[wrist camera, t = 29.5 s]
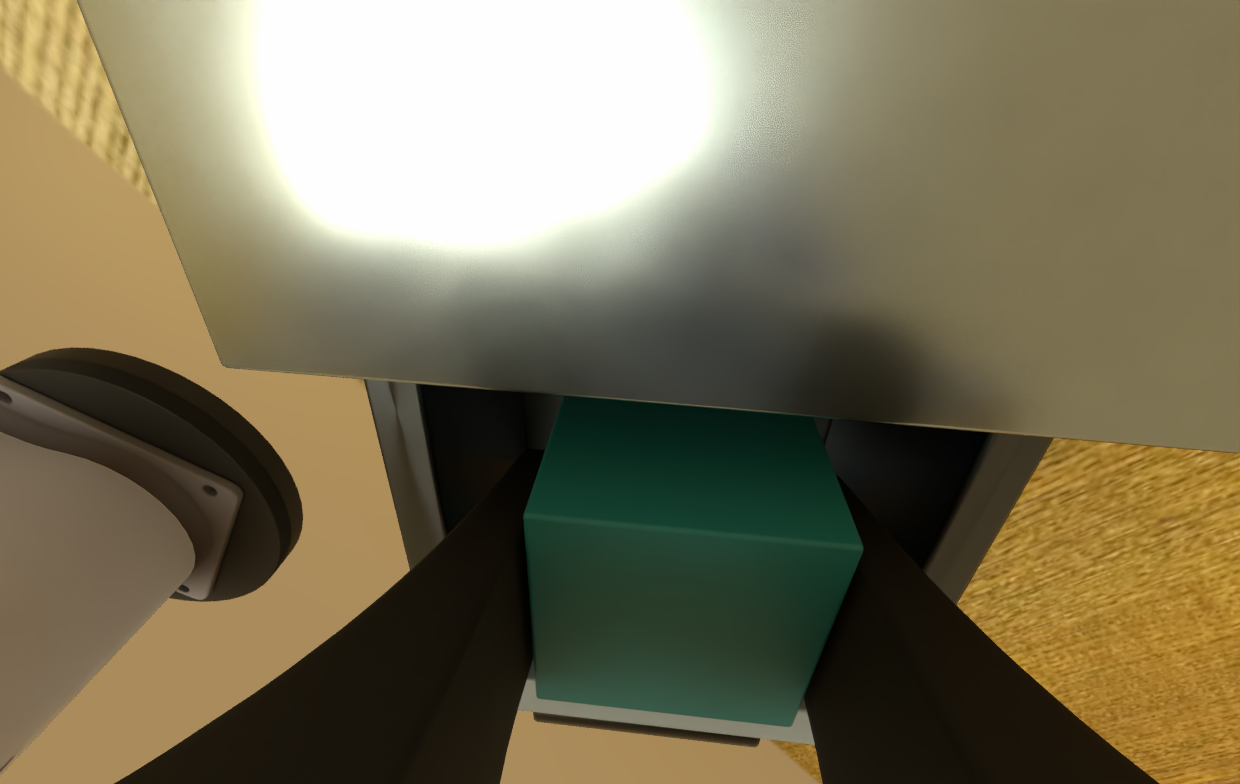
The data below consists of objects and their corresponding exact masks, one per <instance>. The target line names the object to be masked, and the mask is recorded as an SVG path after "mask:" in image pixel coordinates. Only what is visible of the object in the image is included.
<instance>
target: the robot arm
mask: <svg viewBox="0 0 1240 784" xmlns="http://www.w3.org/2000/svg"><path fill="white" fill-rule="evenodd" d="M544 452H545V450H543V449H531V448H527V449H526V450H525V451H523V452H522V453H521V454H520V455H519V457H518V458H517V459H516V460H515V461H514V463H513V464H512V465H511V466H510V467H509V469H508V470H507V471H506V472H505V473H504V474H503V476H502V477H501V478H500V479H499V480H498V481H497V483H496V484H495V485H494V486H493V487H492V488H491V489H490V490H489V492H488V493H487V494H486V495H485V496H484V497H483V498H482V499H481V500H480V502H479V503H478V504H477V505H476V506H475V507H474V508H473V509H472V510H471V511H470V512H469V513H468V514H467V515H466V516H465V517H464V518H463V519H462V520H461V521H460V523H459V524H458V525H457V526H456V527H455V528H454V529H453V530H452V531H451V532H450V533H449V534H448V535H447V536H446V537H445V538H444V539H443V540H442V541H441V542H440V543H439V544H438V545H437V546H436V547H435V548H433V549H432V550H431V551H430V552H429V553H428V554H427V555H426V556H425V557H424V558H423V559H422V560H421V561H420V562H419V563H418V564H417V565H416V566H414V567H413V568H412V569H411V570H410V571H409V572H408V573H407V574H406V575H405V576H404V577H403V578H402V579H400V581H398V582H397V583H396V584H395V585H394V586H393V587H391V588H390V589H389V590H388V591H387V592H386V593H385V594H383V595H382V596H381V597H380V598H379V599H377V600H376V601H375V602H374V603H373V604H372V605H370V606H369V607H368V608H367V609H365V610H364V611H363V612H362V613H361V614H359V615H358V616H357V617H356V618H355V619H353V620H352V621H351V622H350V623H348V624H347V625H346V626H345V627H343V628H342V629H341V630H340V631H338V632H337V633H336V634H334V635H333V636H332V637H330V638H329V639H328V640H326V641H325V642H324V643H323V644H321V645H320V646H318V647H317V648H316V649H314V650H313V651H312V652H311V653H309V654H308V655H307V656H305V657H304V658H303V659H301V660H300V661H299V662H297V663H296V664H295V665H293V666H292V667H291V668H289V669H288V670H287V671H285V672H284V673H282V674H281V675H280V676H278V677H277V678H276V679H274V680H273V681H271V682H270V683H269V684H267V685H266V686H264V687H263V688H261V689H260V690H258V691H257V692H256V693H254V694H253V695H251V696H250V697H248V698H247V699H245V700H244V701H242V702H241V703H239V704H238V705H236V706H234V707H233V708H232V709H230V710H228V711H227V712H225V713H224V714H223V715H221V716H220V717H218V718H216V719H215V720H213V721H212V722H210V723H209V724H207V725H206V726H204V727H203V728H201V729H200V730H198V731H197V732H195V733H194V734H192V735H191V736H189V737H188V738H186V739H185V740H183V741H182V742H180V743H179V744H177V745H176V746H174V747H172V748H171V749H169V750H168V751H167V752H165V753H163V754H162V755H160V756H158V757H157V758H155V759H154V760H152V761H151V762H149V763H147V764H146V765H144V766H143V767H141V768H139V769H138V770H136V771H135V772H133V773H131V774H130V775H128V776H126V777H125V778H123V779H121V780H120V781H118V782H116V783H115V784H500V780H501V775H502V771H503V766H504V761H505V756H506V752H507V747H508V744H509V740H510V736H511V732H512V728H513V724H514V720H515V717H516V713H517V710H518V707H519V704H520V700H521V697H522V694H523V690H524V687H525V684H526V680H527V677H528V674H529V670H530V667H531V664H532V661H533V644H532V630H531V616H530V602H529V589H528V575H527V561H526V547H525V533H524V519H523V515H524V512H525V509H526V506H527V503H528V500H529V497H530V494H531V491H532V488H533V485H534V482H535V479H536V476H537V473H538V470H539V467H540V464H541V461H542V458H543V455H544ZM836 477H837V480H838V482H839V485H840V487H841V490H842V492H843V495H844V498H845V500H846V503H847V505H848V508H849V511H850V513H851V516H852V518H853V521H854V524H855V526H856V529H857V531H858V534H859V537H860V539H861V542H862V544H863V548H864V549H863V553H862V555H861V558H860V560H859V563H858V565H857V567H856V570H855V572H854V575H853V577H852V580H851V582H850V585H849V587H848V590H847V592H846V594H845V597H844V599H843V602H842V604H841V607H840V609H839V612H838V614H837V617H836V619H835V621H834V624H833V626H832V629H831V631H830V634H829V636H828V639H827V641H826V644H825V646H824V649H823V651H822V653H821V656H820V658H819V661H818V663H817V666H816V668H815V671H814V673H813V676H812V678H811V680H810V683H809V685H808V688H807V690H806V693H805V695H804V701H805V705H806V710H807V714H808V718H809V722H810V726H811V731H812V735H813V739H814V743H815V747H816V752H817V756H818V762H819V767H820V772H821V777H822V782H823V784H1159V783H1158V782H1156V781H1155V780H1154V779H1153V778H1151V777H1150V776H1149V775H1148V774H1146V773H1145V772H1144V771H1143V770H1141V769H1140V768H1139V767H1138V766H1136V765H1135V764H1134V763H1133V762H1131V761H1130V760H1129V759H1128V758H1126V757H1125V756H1124V755H1122V754H1121V753H1120V752H1119V751H1117V750H1116V749H1115V748H1114V747H1112V746H1111V745H1110V744H1109V743H1108V742H1106V741H1105V740H1104V739H1103V738H1102V737H1100V736H1099V735H1098V734H1097V733H1096V732H1094V731H1093V730H1092V729H1091V728H1090V727H1088V726H1087V725H1086V724H1085V723H1084V722H1082V721H1081V720H1080V719H1079V718H1078V717H1076V716H1075V715H1074V714H1073V713H1072V712H1071V711H1070V710H1068V709H1067V708H1066V707H1065V706H1064V705H1063V704H1062V703H1061V702H1059V701H1058V700H1057V699H1056V698H1055V697H1054V696H1053V695H1051V694H1050V693H1049V692H1048V691H1047V690H1046V689H1045V688H1043V687H1042V686H1041V685H1040V684H1039V683H1038V682H1037V681H1036V680H1034V679H1033V678H1032V677H1031V676H1030V675H1029V674H1028V673H1026V672H1025V671H1024V670H1023V669H1022V668H1021V667H1020V666H1019V665H1018V664H1016V663H1015V662H1014V661H1013V660H1012V659H1011V658H1010V657H1009V656H1008V655H1007V654H1006V653H1005V652H1004V651H1002V650H1001V649H1000V648H999V647H998V646H997V645H996V644H995V643H994V642H993V641H992V640H991V639H990V638H989V637H988V636H987V635H986V634H985V633H984V632H983V631H982V630H981V629H980V628H979V627H978V626H977V625H976V624H975V623H974V622H973V621H972V620H971V619H970V618H969V617H968V616H966V615H965V614H964V613H963V612H962V611H961V610H960V609H959V608H958V607H957V606H956V605H955V604H954V603H953V602H952V601H951V600H950V598H949V597H948V596H947V595H946V594H945V593H944V592H943V591H942V590H941V589H940V588H939V587H938V586H937V585H936V584H935V583H934V582H933V581H932V580H931V579H930V578H929V577H928V576H927V575H926V573H925V572H924V571H923V570H922V569H921V568H920V567H919V566H918V565H917V564H916V563H915V562H914V560H913V559H912V558H911V557H910V556H909V555H908V554H907V553H906V552H905V551H904V550H903V548H902V547H901V546H900V545H899V544H898V543H897V542H896V541H895V540H894V538H893V537H892V536H891V535H890V534H889V533H888V532H887V530H886V529H885V528H884V527H883V526H882V525H881V524H880V523H879V521H878V520H877V519H876V518H875V517H874V516H873V515H872V513H871V512H870V511H869V510H868V509H867V508H866V507H865V505H864V504H863V503H862V502H861V501H860V500H859V498H858V497H857V496H856V495H855V494H854V493H853V492H852V490H851V489H850V488H849V487H848V486H847V485H846V484H845V483H844V482H843V480H842V479H841V478H840V477H839V476H836ZM242 498H243V491H242V490H241V488H240V487H239V486H238V485H237V484H235V483H233V482H231V481H229V480H227V479H225V478H223V477H221V476H218V475H216V474H214V473H212V472H210V471H207V470H205V469H203V468H201V467H199V466H197V465H194V464H192V463H190V462H188V461H186V460H184V459H181V458H179V457H177V456H175V455H173V454H171V453H168V452H166V451H164V450H162V449H160V448H158V447H155V446H153V445H151V444H149V443H147V442H145V441H142V440H140V439H138V438H136V437H134V436H132V435H129V434H127V433H125V432H123V431H121V430H119V429H116V428H114V427H112V426H110V425H108V424H106V423H103V422H101V421H99V420H97V419H95V418H93V417H90V416H88V415H86V414H84V413H82V412H80V411H77V410H75V409H73V408H71V407H69V406H67V405H64V404H62V403H60V402H58V401H56V400H53V399H51V398H49V397H47V396H45V395H43V394H40V393H38V392H36V391H34V390H32V389H30V388H27V387H25V386H23V385H21V384H19V383H17V382H14V381H12V380H10V379H8V378H6V377H4V376H1V375H0V776H1V775H2V774H3V773H4V772H5V771H6V770H7V769H8V767H9V766H10V765H11V764H12V763H13V762H14V761H15V760H16V759H17V758H18V757H19V756H20V755H21V754H22V753H23V752H24V750H26V748H27V747H28V746H29V745H30V744H31V743H32V742H33V741H34V740H35V739H36V738H37V737H38V736H39V735H40V734H41V733H42V732H43V730H44V729H45V728H46V727H47V726H48V725H49V724H50V723H51V722H52V721H53V720H54V719H55V718H56V717H57V716H58V715H59V713H60V712H61V711H62V710H63V709H64V708H65V707H66V706H67V705H68V704H69V703H70V702H71V701H72V700H73V699H74V698H75V697H76V696H77V694H78V693H79V692H80V691H81V690H82V689H83V688H84V687H85V686H86V685H87V684H88V683H89V682H90V680H92V678H93V677H94V676H95V675H96V674H97V673H98V672H99V671H100V670H101V669H102V668H103V667H104V666H105V665H106V664H107V663H108V662H109V661H110V659H111V658H112V657H113V656H114V655H115V654H116V653H117V652H118V651H119V650H120V649H121V648H122V647H123V646H124V645H125V644H126V643H127V641H128V640H129V639H130V638H131V637H132V636H133V635H134V634H135V633H136V632H137V631H138V630H139V629H140V628H141V627H142V626H143V625H144V623H145V622H146V621H147V620H148V619H149V618H150V617H151V616H152V615H153V614H154V613H155V612H156V611H157V610H158V608H160V607H161V605H162V604H163V603H164V602H165V601H166V600H167V599H168V598H169V597H170V596H171V595H172V594H173V593H174V592H175V591H177V592H179V593H181V594H184V595H186V596H189V597H191V598H194V599H197V600H203V599H206V598H207V597H208V595H209V594H210V593H211V592H212V590H213V587H214V584H215V581H216V578H217V575H218V572H219V569H220V566H221V563H222V560H223V557H224V553H225V550H226V547H227V544H228V541H229V538H230V535H231V532H232V529H233V526H234V523H235V520H236V517H237V514H238V511H239V508H240V504H241V501H242Z"/></svg>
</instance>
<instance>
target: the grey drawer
mask: <svg viewBox="0 0 1240 784" xmlns="http://www.w3.org/2000/svg"><path fill="white" fill-rule="evenodd" d="M364 382H365V386H366V390H367V394H368V398H369V402H370V407H371V411H372V415H373V419H374V423H375V427H376V431H377V436H378V440H379V444H380V448H381V452H382V456H383V460H384V464H385V469H386V473H387V477H388V481H389V485H390V489H391V493H392V497H393V501H394V506H395V510H396V514H397V518H398V522H399V526H400V530H401V534H402V539H403V543H404V547H405V551H406V555H407V559H408V563H409V567H410V570H411V569H412V568H413V567H414V566H416V565H417V564H418V563H419V562H420V561H421V560H422V559H423V558H424V557H425V556H426V555H427V554H428V553H429V552H430V551H431V550H432V549H433V548H435V547H436V546H437V545H438V544H439V543H440V542H441V541H442V540H443V539H444V538H445V537H446V536H447V535H448V534H449V533H450V532H451V531H452V530H453V529H454V528H455V527H456V526H457V525H458V524H459V523H460V521H461V520H462V519H463V518H464V517H465V516H466V515H467V514H468V513H469V512H470V511H471V510H472V509H473V508H474V507H475V506H476V505H477V504H478V503H479V502H480V500H481V499H482V498H483V497H484V496H485V495H486V494H487V493H488V492H489V490H490V489H491V488H492V487H493V486H494V485H495V484H496V483H497V481H498V480H499V479H500V478H501V477H502V476H503V474H504V473H505V472H506V471H507V470H508V469H509V467H510V466H511V465H512V464H513V463H514V461H515V460H516V459H517V458H518V457H519V455H520V454H521V453H522V452H523V451H525V450H526V449H527V448H531V449H543V450H545V449H546V446H547V443H548V440H549V437H550V434H551V431H552V428H553V425H554V422H555V420H556V417H557V414H558V411H559V408H560V405H561V402H562V399H563V396H555V395H543V394H531V393H519V392H507V391H496V390H484V389H472V388H460V387H448V386H437V385H425V384H413V383H401V382H390V381H378V380H366V379H364ZM814 420H815V422H816V425H817V428H818V430H819V433H820V435H821V438H822V441H823V443H824V446H825V448H826V451H827V454H828V456H829V459H830V461H831V464H832V467H833V469H834V472H835V474H836V476H839V477H840V478H841V479H842V480H843V482H844V483H845V484H846V485H847V486H848V487H849V488H850V489H851V490H852V492H853V493H854V494H855V495H856V496H857V497H858V498H859V500H860V501H861V502H862V503H863V504H864V505H865V507H866V508H867V509H868V510H869V511H870V512H871V513H872V515H873V516H874V517H875V518H876V519H877V520H878V521H879V523H880V524H881V525H882V526H883V527H884V528H885V529H886V530H887V532H888V533H889V534H890V535H891V536H892V537H893V538H894V540H895V541H896V542H897V543H898V544H899V545H900V546H901V547H902V548H903V550H904V551H905V552H906V553H907V554H908V555H909V556H910V557H911V558H912V559H913V560H914V562H915V563H916V564H917V565H918V566H919V567H920V568H921V569H922V570H923V571H924V572H925V573H926V575H927V576H928V577H929V578H930V579H931V580H932V581H933V582H934V583H935V584H936V585H937V586H938V587H939V588H940V589H941V590H942V591H943V592H944V593H945V594H946V595H947V596H948V597H949V598H950V600H951V601H952V602H953V603H954V604H955V605H957V603H958V601H959V599H960V598H961V596H962V594H963V593H964V591H965V589H966V587H967V586H968V584H969V582H970V581H971V579H972V577H973V575H974V574H975V572H976V570H977V569H978V567H979V565H980V563H981V562H982V560H983V558H984V557H985V555H986V553H987V552H988V550H989V548H990V546H991V545H992V543H993V541H994V540H995V538H996V536H997V534H998V533H999V531H1000V529H1001V528H1002V526H1003V524H1004V522H1005V521H1006V519H1007V517H1008V516H1009V514H1010V512H1011V510H1012V509H1013V507H1014V505H1015V504H1016V502H1017V500H1018V498H1019V497H1020V495H1021V493H1022V492H1023V490H1024V488H1025V486H1026V485H1027V483H1028V481H1029V480H1030V478H1031V476H1032V475H1033V473H1034V471H1035V469H1036V468H1037V466H1038V464H1039V463H1040V461H1041V459H1042V457H1043V456H1044V454H1045V452H1046V451H1047V449H1048V447H1049V445H1050V444H1051V442H1052V440H1053V439H1054V438H1049V437H1038V436H1026V435H1014V434H1002V433H990V432H979V431H967V430H955V429H943V428H931V427H920V426H908V425H896V424H884V423H873V422H861V421H849V420H837V419H825V418H814ZM518 710H522V711H531V712H533V715H534V720H535V721H537V722H544V723H553V724H561V725H570V726H579V727H586V728H596V729H604V730H612V731H621V732H630V733H638V734H647V735H655V736H664V737H672V738H680V739H688V740H697V741H706V742H714V743H722V744H731V745H739V746H748V747H756V746H758V744H759V742H760V738H762V739H770V740H779V741H787V742H796V743H805V744H813V745H815V743H814V739H813V735H812V731H811V726H810V722H809V718H808V714H807V710H806V705H805V701H804V698H803V700H802V703H801V705H800V707H799V710H798V712H797V715H796V717H795V720H794V722H793V725H792V726H791V727H781V726H772V725H763V724H755V723H746V722H737V721H728V720H719V719H711V718H702V717H693V716H684V715H675V714H667V713H658V712H649V711H640V710H632V709H623V708H614V707H605V706H596V705H588V704H579V703H570V702H561V701H553V700H544V699H539V698H537V696H536V686H535V672H534V658H533V661H532V664H531V667H530V670H529V674H528V677H527V680H526V684H525V687H524V690H523V694H522V697H521V700H520V704H519V707H518Z"/></svg>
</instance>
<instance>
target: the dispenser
mask: <svg viewBox="0 0 1240 784" xmlns="http://www.w3.org/2000/svg"><path fill="white" fill-rule="evenodd" d="M77 2H78V5H79V7H80V10H81V12H82V15H83V17H84V20H85V22H86V25H87V27H88V30H89V32H90V35H91V37H92V40H93V42H94V45H95V47H96V50H97V52H98V55H99V57H100V60H101V62H102V65H103V67H104V70H105V72H106V75H107V77H108V80H109V83H110V85H111V88H112V90H113V93H114V95H115V98H116V100H117V103H118V105H119V108H120V110H121V113H122V115H123V118H124V120H125V123H126V125H127V128H128V130H129V133H130V135H131V138H132V140H133V143H134V145H135V148H136V150H137V153H138V155H139V158H140V160H141V163H142V165H143V168H144V170H145V173H146V175H147V178H148V180H149V183H150V185H151V188H152V191H153V193H154V196H155V198H156V201H157V203H158V206H159V208H160V211H161V213H162V216H163V218H164V221H165V223H166V226H167V228H168V231H169V233H170V236H171V238H172V241H173V243H174V246H175V248H176V251H177V253H178V256H179V258H180V261H181V263H182V266H183V268H184V271H185V273H186V276H187V278H188V281H189V283H190V286H191V288H192V291H193V293H194V296H195V299H196V301H197V304H198V306H199V308H200V311H201V313H202V316H203V319H204V321H205V324H206V326H207V328H208V331H209V334H210V336H211V339H212V341H213V344H214V346H215V349H216V351H217V353H218V356H219V359H220V361H221V364H222V365H223V366H225V367H227V368H236V369H248V370H260V371H272V372H284V373H295V374H307V375H319V376H320V375H321V376H331V377H343V378H354V379H366V380H378V381H390V382H401V383H413V384H425V385H437V386H448V387H460V388H472V389H484V390H496V391H507V392H519V393H531V394H543V395H555V396H566V397H578V398H590V399H602V400H613V401H625V402H637V403H649V404H661V405H672V406H684V407H696V408H708V409H719V410H731V411H743V412H755V413H767V414H778V415H790V416H802V417H814V418H825V419H837V420H849V421H861V422H873V423H884V424H896V425H908V426H920V427H931V428H943V429H955V430H967V431H979V432H990V433H1002V434H1014V435H1026V436H1038V437H1049V438H1061V439H1073V440H1085V441H1096V442H1108V443H1120V444H1132V445H1144V446H1155V447H1167V448H1179V449H1191V450H1202V451H1214V452H1226V453H1240V0H77Z"/></svg>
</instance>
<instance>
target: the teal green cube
mask: <svg viewBox="0 0 1240 784" xmlns="http://www.w3.org/2000/svg"><path fill="white" fill-rule="evenodd" d="M523 519H524V533H525V547H526V561H527V575H528V589H529V602H530V616H531V630H532V644H533V658H534V672H535V686H536V696H537V698H539V699H544V700H553V701H561V702H570V703H579V704H588V705H596V706H605V707H614V708H623V709H632V710H640V711H649V712H658V713H667V714H675V715H684V716H693V717H702V718H711V719H719V720H728V721H737V722H746V723H755V724H763V725H772V726H781V727H791V726H792V725H793V722H794V720H795V717H796V715H797V712H798V710H799V707H800V705H801V703H802V700H803V698H804V695H805V693H806V690H807V688H808V685H809V683H810V680H811V678H812V676H813V673H814V671H815V668H816V666H817V663H818V661H819V658H820V656H821V653H822V651H823V649H824V646H825V644H826V641H827V639H828V636H829V634H830V631H831V629H832V626H833V624H834V621H835V619H836V617H837V614H838V612H839V609H840V607H841V604H842V602H843V599H844V597H845V594H846V592H847V590H848V587H849V585H850V582H851V580H852V577H853V575H854V572H855V570H856V567H857V565H858V563H859V560H860V558H861V555H862V553H863V549H864V548H863V544H862V542H861V539H860V537H859V534H858V531H857V529H856V526H855V524H854V521H853V518H852V516H851V513H850V511H849V508H848V505H847V503H846V500H845V498H844V495H843V492H842V490H841V487H840V485H839V482H838V480H837V477H836V474H835V472H834V469H833V467H832V464H831V461H830V459H829V456H828V454H827V451H826V448H825V446H824V443H823V441H822V438H821V435H820V433H819V430H818V428H817V425H816V422H815V420H814V417H802V416H790V415H778V414H767V413H755V412H743V411H731V410H719V409H708V408H696V407H684V406H672V405H661V404H649V403H637V402H625V401H613V400H602V399H590V398H578V397H566V396H563V399H562V402H561V405H560V408H559V411H558V414H557V417H556V420H555V422H554V425H553V428H552V431H551V434H550V437H549V440H548V443H547V446H546V449H545V452H544V455H543V458H542V461H541V464H540V467H539V470H538V473H537V476H536V479H535V482H534V485H533V488H532V491H531V494H530V497H529V500H528V503H527V506H526V509H525V512H524V515H523Z"/></svg>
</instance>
